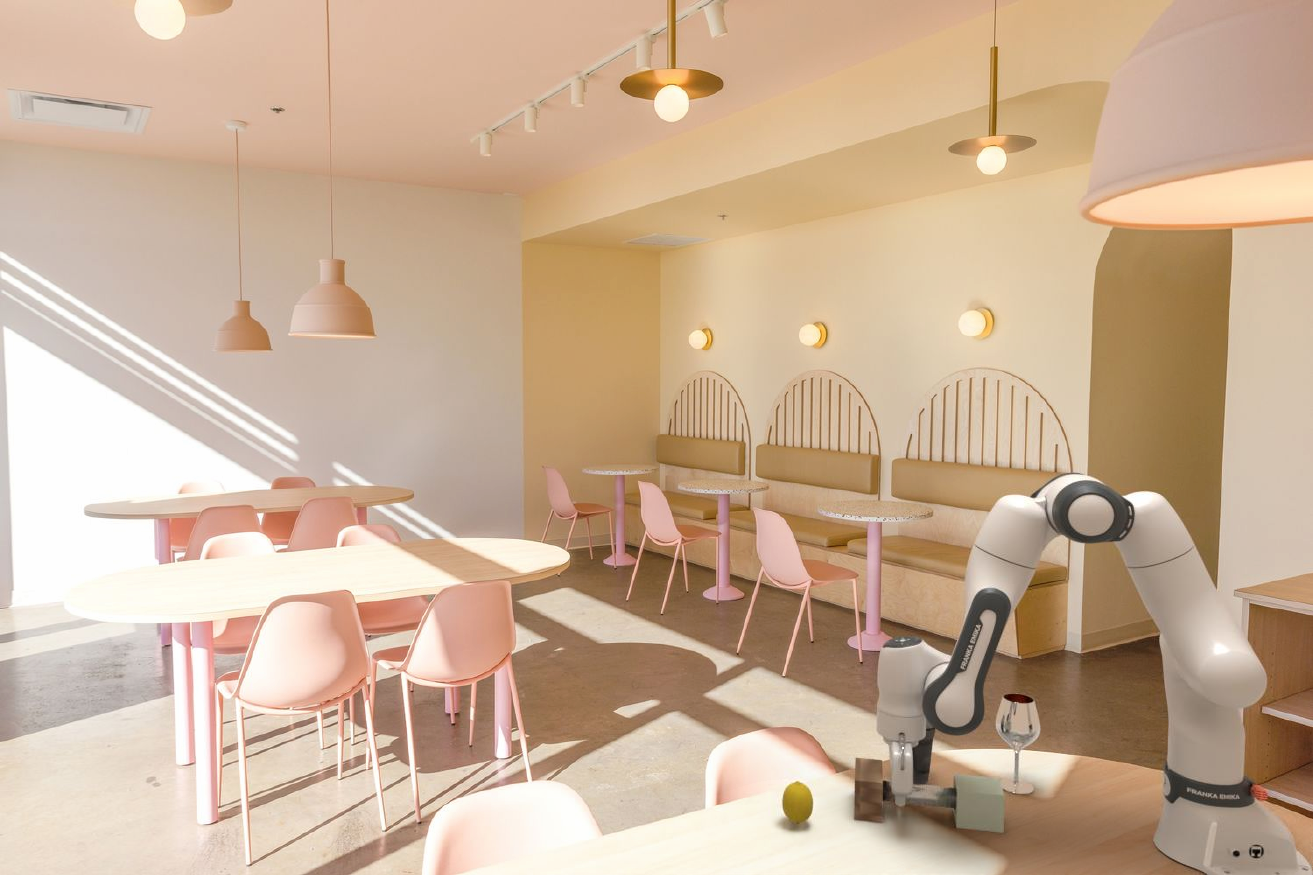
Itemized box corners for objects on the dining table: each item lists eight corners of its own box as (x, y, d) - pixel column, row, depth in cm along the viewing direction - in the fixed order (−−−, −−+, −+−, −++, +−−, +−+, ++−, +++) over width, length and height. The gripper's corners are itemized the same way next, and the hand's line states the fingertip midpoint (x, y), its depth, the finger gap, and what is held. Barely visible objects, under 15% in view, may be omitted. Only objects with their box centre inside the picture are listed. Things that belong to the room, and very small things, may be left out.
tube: (954, 803, 164) (955, 784, 163) (956, 812, 160) (956, 793, 160) (866, 793, 167) (866, 775, 167) (866, 802, 164) (866, 783, 164)
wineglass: (1045, 796, 170) (1048, 706, 169) (1003, 796, 170) (1005, 705, 169) (1028, 777, 178) (1030, 691, 177) (987, 777, 179) (990, 690, 177)
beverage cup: (937, 788, 174) (939, 689, 172) (899, 785, 175) (901, 687, 174) (933, 772, 181) (935, 677, 179) (896, 769, 182) (898, 674, 181)
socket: (881, 797, 170) (882, 760, 169) (882, 823, 160) (882, 783, 160) (855, 794, 171) (855, 757, 171) (854, 819, 161) (854, 780, 161)
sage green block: (998, 814, 164) (999, 778, 163) (1003, 832, 157) (1004, 795, 156) (952, 809, 165) (953, 773, 165) (956, 827, 159) (957, 790, 158)
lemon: (818, 823, 160) (819, 780, 159) (801, 835, 156) (802, 791, 155) (793, 813, 164) (793, 771, 163) (775, 824, 160) (776, 781, 159)
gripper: (921, 748, 152) (920, 825, 153) (916, 705, 172) (914, 774, 173) (884, 744, 154) (882, 821, 155) (882, 703, 174) (881, 771, 175)
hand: (899, 796), depth 164 cm, fingers open, 5 cm apart
